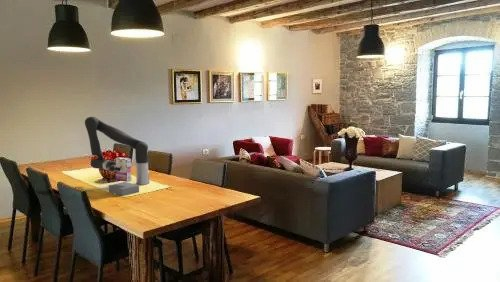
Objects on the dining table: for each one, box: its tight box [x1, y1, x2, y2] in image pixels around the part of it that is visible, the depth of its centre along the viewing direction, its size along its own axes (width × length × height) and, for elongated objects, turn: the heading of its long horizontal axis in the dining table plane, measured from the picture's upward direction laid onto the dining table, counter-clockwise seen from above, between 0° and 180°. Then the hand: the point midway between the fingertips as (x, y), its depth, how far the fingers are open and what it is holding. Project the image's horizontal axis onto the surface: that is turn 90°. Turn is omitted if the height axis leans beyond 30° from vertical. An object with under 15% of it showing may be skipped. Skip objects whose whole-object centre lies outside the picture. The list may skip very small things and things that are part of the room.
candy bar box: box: [115, 156, 132, 183], centre depth 283 cm, size 11×5×16 cm, turn 62°
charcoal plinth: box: [108, 181, 140, 197], centre depth 284 cm, size 14×17×5 cm
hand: (123, 168), depth 282 cm, fingers closed on candy bar box, 5 cm apart
